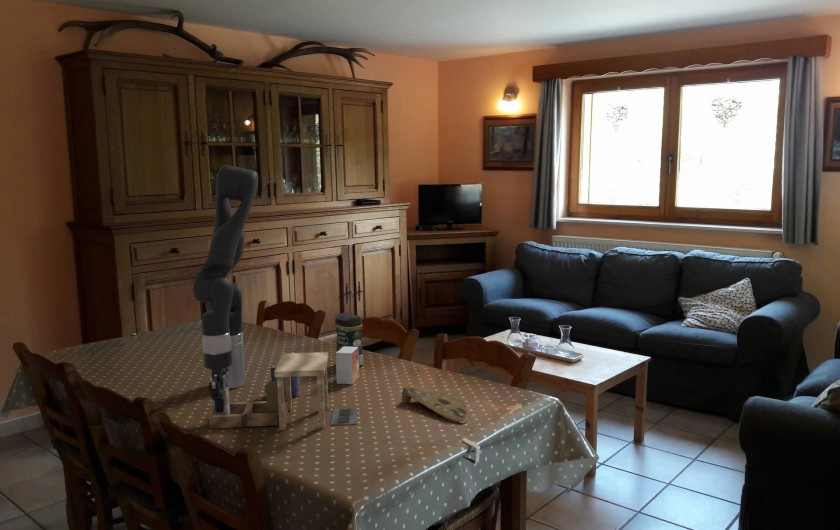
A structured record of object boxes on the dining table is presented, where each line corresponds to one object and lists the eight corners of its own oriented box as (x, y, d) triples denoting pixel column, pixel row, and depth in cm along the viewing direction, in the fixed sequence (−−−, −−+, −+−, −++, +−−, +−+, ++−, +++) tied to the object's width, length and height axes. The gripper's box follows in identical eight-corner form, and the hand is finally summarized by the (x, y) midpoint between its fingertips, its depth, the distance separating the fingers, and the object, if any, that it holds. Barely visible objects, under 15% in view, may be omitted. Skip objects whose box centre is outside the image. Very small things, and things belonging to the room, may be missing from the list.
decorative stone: (398, 402, 199) (401, 386, 198) (437, 398, 208) (440, 382, 208) (452, 437, 180) (455, 420, 179) (492, 431, 189) (495, 414, 189)
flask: (300, 394, 206) (299, 361, 205) (296, 398, 204) (295, 364, 202) (273, 392, 209) (272, 359, 207) (269, 395, 206) (267, 362, 204)
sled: (209, 427, 180) (207, 395, 178) (218, 413, 191) (217, 382, 189) (283, 424, 181) (281, 393, 180) (287, 410, 192) (286, 380, 191)
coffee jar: (332, 364, 237) (330, 313, 234) (350, 360, 242) (348, 310, 240) (349, 370, 230) (348, 317, 227) (367, 365, 236) (366, 314, 233)
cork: (262, 418, 188) (260, 380, 186) (284, 414, 190) (282, 377, 188) (266, 425, 182) (264, 386, 181) (288, 422, 184) (286, 383, 183)
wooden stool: (277, 431, 178) (274, 371, 176) (285, 408, 195) (282, 353, 193) (356, 427, 180) (354, 368, 177) (357, 405, 196) (355, 351, 194)
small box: (352, 385, 215) (351, 353, 213) (336, 384, 216) (335, 352, 214) (360, 377, 223) (359, 346, 221) (343, 376, 224) (342, 345, 222)
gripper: (209, 342, 189) (213, 401, 192) (196, 356, 175) (201, 419, 178) (236, 341, 190) (239, 400, 192) (225, 355, 176) (229, 418, 178)
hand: (221, 409), depth 185 cm, fingers closed on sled, 3 cm apart
